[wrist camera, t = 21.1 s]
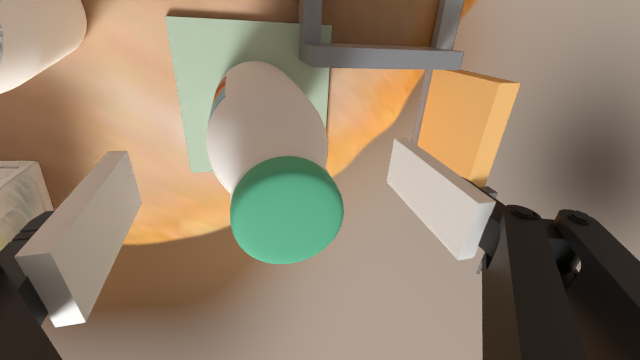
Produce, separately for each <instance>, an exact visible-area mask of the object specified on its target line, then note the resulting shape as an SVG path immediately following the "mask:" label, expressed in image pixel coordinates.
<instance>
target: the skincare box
mask: <svg viewBox="0 0 640 360" xmlns="http://www.w3.org/2000/svg"><path fill="white" fill-rule="evenodd" d="M45 211H54V209H53V206H52V203H51V200H50V196H49V193H48V190H47V187H46V184H45V181H44V177H43V174H42V171H41V167H40V164H39V162H38V161H0V251H1V250H2V249H3V248H4V247H5V246H6V245H7V244H8V243H9V242H12V239H13V238H14V237H15V236H16V235H17V234H18V233H20V230H21V229H22V228H23V227H24V226H25V225H26V224H27V223H28V222H29V221H30V220H32V219H34V218H35V217H37V216H39V215H40V214H42V213H44V212H45Z"/></svg>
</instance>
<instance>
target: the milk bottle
mask: <svg viewBox="0 0 640 360" xmlns="http://www.w3.org/2000/svg"><path fill="white" fill-rule="evenodd" d="M207 151H208V157H209V160H210V164H211V166H212V168H213V171H214V173H215V175H216V176H217V178H218V179H219V181H220V182H221V184H222V185H223V186H224V187H225V188H226V189H227V190H228V191H229V192H230V193H231V207H230V220H231V228H232V232H233V234H234V236H235V239H236V240H237V242H238V244H239V245H240V247H241V248H242V249H243V250H244V251H245V252H246V253H248V254H249V255H250V256H252V257H254V258H256V259H258V260H260V261H264V262H268V263H273V264H289V263H295V262H299V261H302V260H305V259H308V258H310V257H312V256H314V255H316V254H317V253H319V252H320V251H322V250H323V249H324V248H326V247H327V246H328V245H329V244H330V243H331V241H332V240H333V239H334V238H335V236H336V235H337V233H338V231H339V229H340V227H341V224H342V221H343V213H344V211H343V201H342V197H341V194H340V192H339V190H338V188H337V186H336V184H335V182H334V181H333V179H332V178H331V177H330V175H329V173H328V171H327V170H326V168H325V166H326V162H327V156H328V140H327V134H326V130H325V126H324V124H323V121H322V119H321V117H320V115H319V113H318V111H317V110H316V108H315V107H314V105H313V104H312V103H311V101H310V100H309V99H308V97H307V96H306V95H305V94H304V93H303V92H302V91H301V90H300V88H299V87H298V86H297V85H296V84H295V83H294V82H293V81H292V80H291V79H290V78H289V77H288V76H287V75H286V74H285V73H284V72H283V71H282V70H280V69H279V68H277V67H275V66H274V65H271V64H269V63H266V62H261V61H248V62H244V63H241V64H238V65H236V66H234V67H233V68H231V69H230V70H229V71H228V72H226V74H225V75H224V76H223V77H222V79H221V80H220V82H219V84H218V86H217V89H216V92H215V96H214V99H213V103H212V107H211V112H210V116H209V121H208V128H207Z"/></svg>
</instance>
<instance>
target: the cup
mask: <svg viewBox="0 0 640 360" xmlns="http://www.w3.org/2000/svg"><path fill="white" fill-rule="evenodd" d="M86 30H87V19H86V14H85V10H84V7H83V5H82V2H81V0H0V94H1V93H4V92H7V91H9V90H11V89H14V88H16V87H18V86H20V85H21V84H23V83H24V82H26V81H28V80H29V79H31V78H32V77H34V76H36V75H37V74H39V73H40V72H42V71H43V70H45V69H46V68H48V67H50V66H51V65H53V64H54V63H56V62H57V61H59V60H60V59H62V58H63V57H65V56H67V55H68V54H70V53H71V52H73V51H74V50H76V49H77V48H78V47H79V46H80V45H81V43H82V42H83V40H84V38H85V35H86Z"/></svg>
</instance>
